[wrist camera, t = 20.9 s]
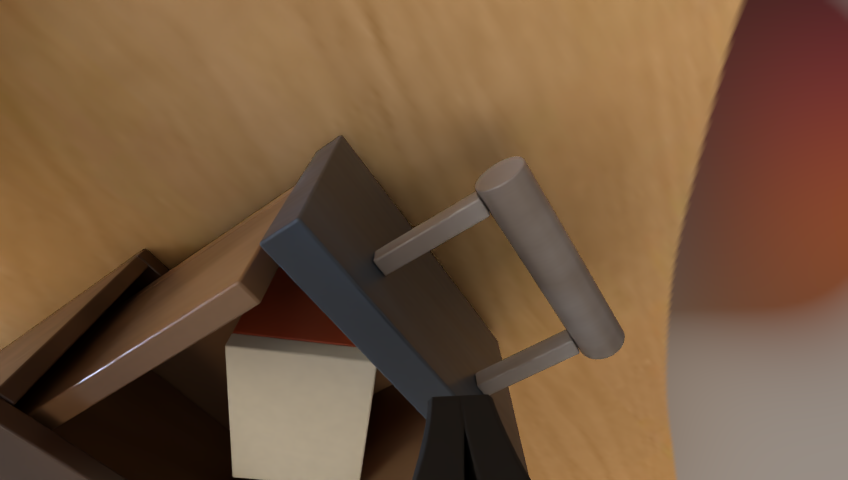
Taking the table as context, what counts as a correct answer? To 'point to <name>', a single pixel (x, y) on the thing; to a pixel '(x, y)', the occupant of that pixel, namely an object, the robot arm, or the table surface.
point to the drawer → (344, 305)
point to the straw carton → (296, 391)
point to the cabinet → (35, 354)
